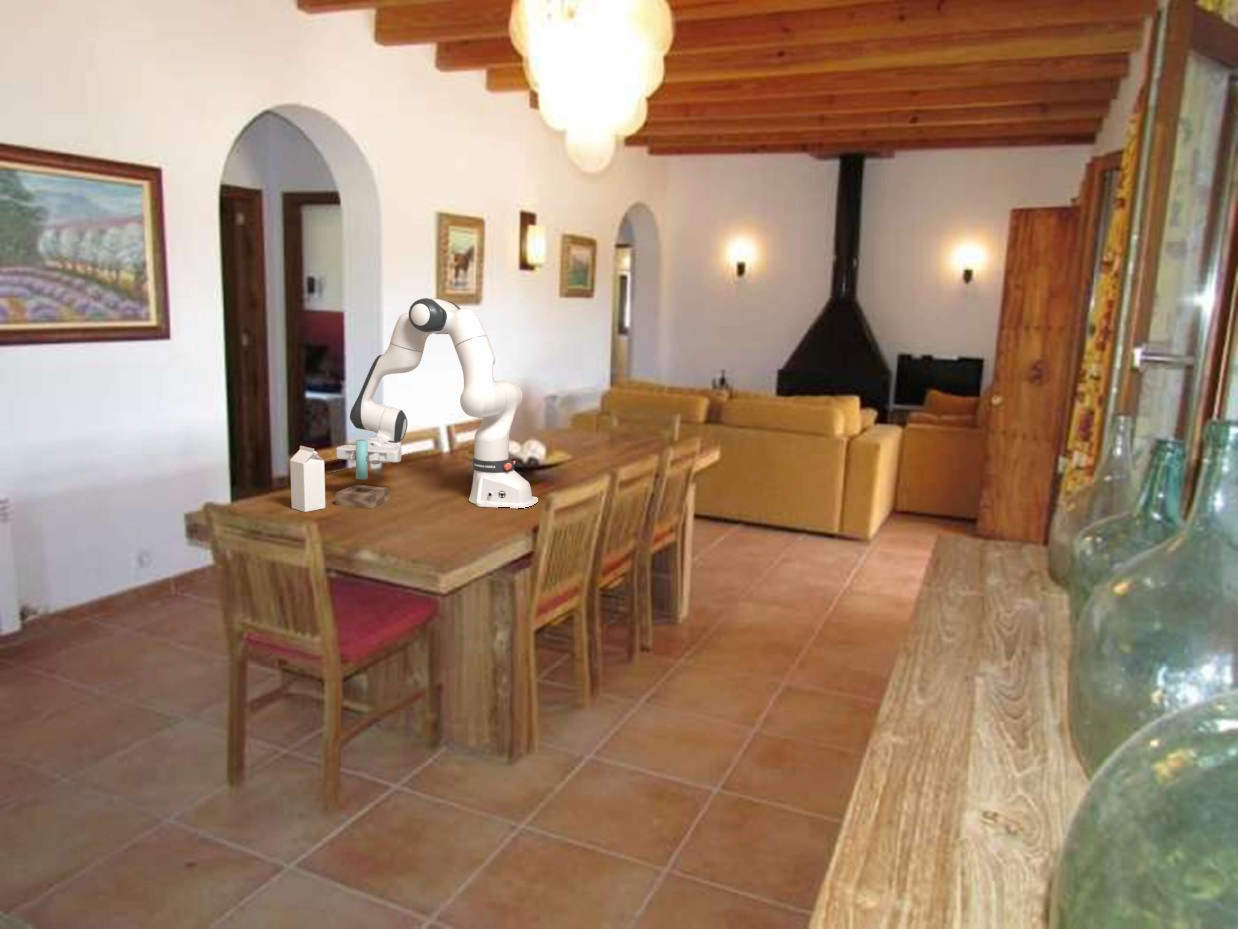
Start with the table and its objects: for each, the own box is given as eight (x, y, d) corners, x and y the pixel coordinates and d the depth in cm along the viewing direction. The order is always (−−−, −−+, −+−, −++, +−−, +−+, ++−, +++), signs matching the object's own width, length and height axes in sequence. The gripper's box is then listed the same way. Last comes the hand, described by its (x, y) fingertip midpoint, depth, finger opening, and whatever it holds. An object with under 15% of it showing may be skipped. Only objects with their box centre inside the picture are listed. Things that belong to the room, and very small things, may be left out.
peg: (369, 477, 276) (369, 440, 274) (364, 479, 273) (363, 442, 271) (359, 476, 277) (359, 439, 275) (353, 478, 274) (353, 441, 271)
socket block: (389, 500, 281) (389, 488, 280) (370, 508, 269) (370, 496, 269) (355, 496, 283) (355, 484, 283) (335, 504, 272) (335, 492, 271)
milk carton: (305, 512, 261) (303, 450, 258) (291, 508, 266) (289, 447, 262) (325, 508, 267) (324, 447, 263) (312, 504, 271) (310, 444, 268)
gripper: (344, 438, 286) (328, 446, 273) (405, 442, 285) (392, 450, 272) (344, 457, 287) (328, 466, 274) (405, 461, 287) (392, 470, 273)
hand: (360, 458), depth 273 cm, fingers closed on peg, 4 cm apart
